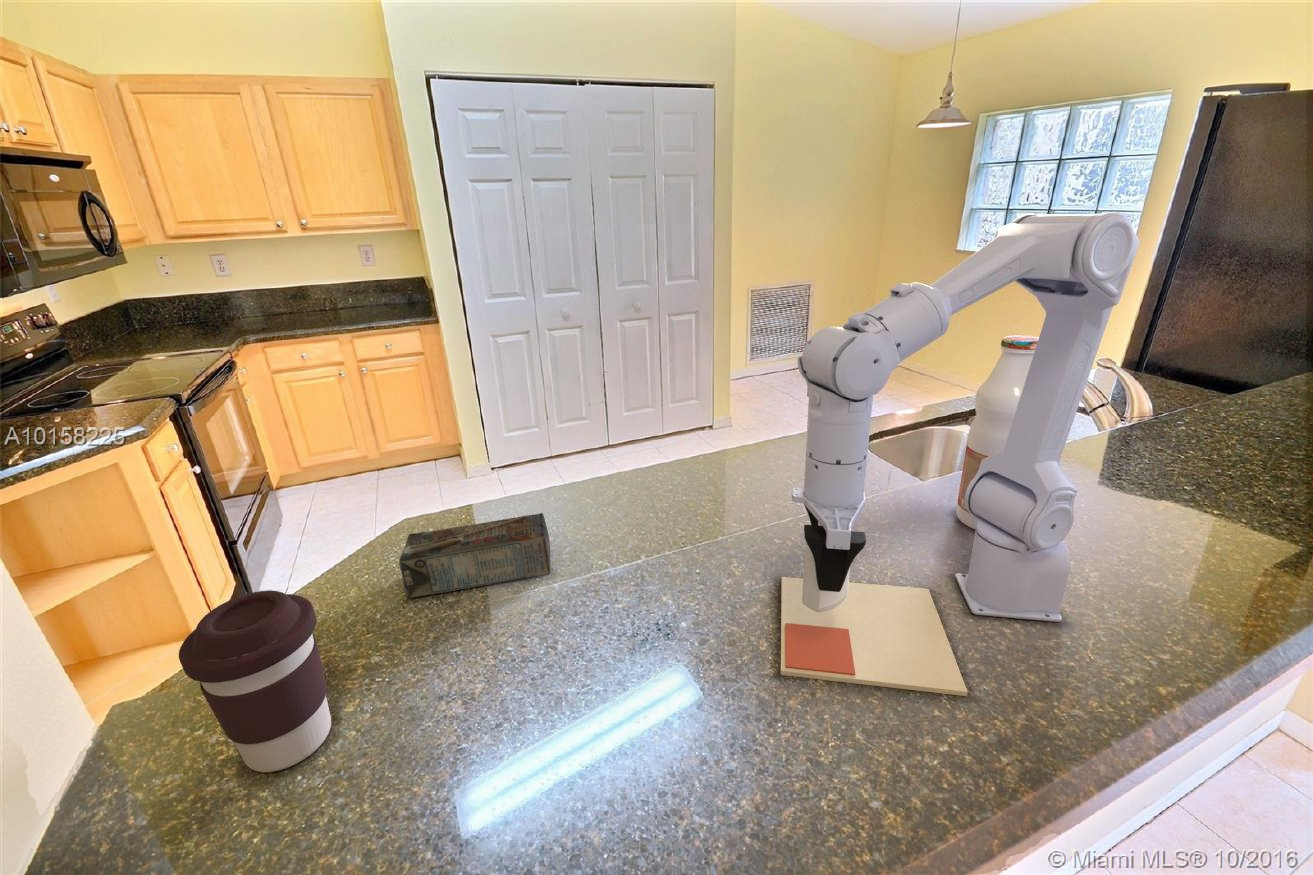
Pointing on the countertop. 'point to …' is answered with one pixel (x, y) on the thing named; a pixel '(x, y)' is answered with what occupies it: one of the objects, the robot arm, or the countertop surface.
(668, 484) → the countertop surface
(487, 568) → the beverage carton
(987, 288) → the robot arm
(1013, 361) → the fruit juice
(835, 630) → the mat
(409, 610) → the countertop surface
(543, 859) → the countertop surface
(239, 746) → the coffee cup
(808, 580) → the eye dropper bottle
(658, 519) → the countertop surface
